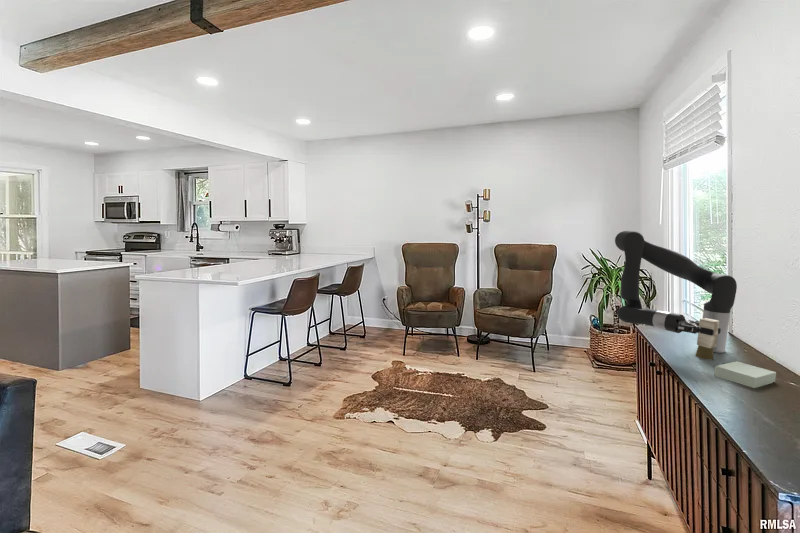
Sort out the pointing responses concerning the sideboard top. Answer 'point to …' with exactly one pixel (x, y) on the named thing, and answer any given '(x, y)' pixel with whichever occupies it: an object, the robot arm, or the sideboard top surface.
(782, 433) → the sideboard top surface
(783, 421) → the sideboard top surface
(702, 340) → the maple block
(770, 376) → the sage block
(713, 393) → the sideboard top surface
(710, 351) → the brown rounded piece
